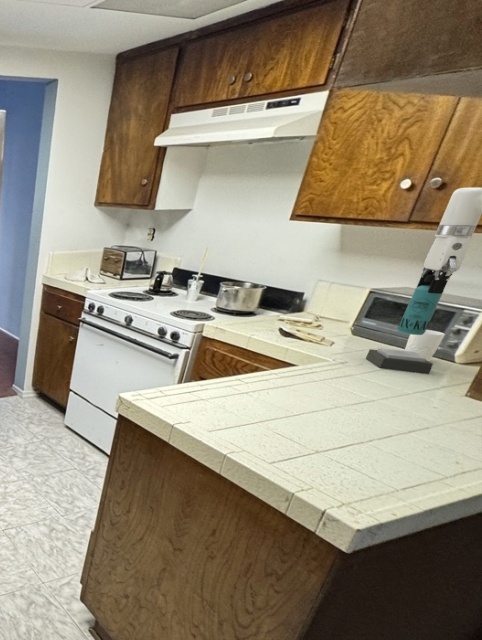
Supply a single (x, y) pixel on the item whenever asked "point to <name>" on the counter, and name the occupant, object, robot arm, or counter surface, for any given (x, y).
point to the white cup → (425, 343)
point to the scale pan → (401, 354)
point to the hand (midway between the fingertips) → (428, 291)
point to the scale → (398, 363)
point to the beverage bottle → (419, 310)
